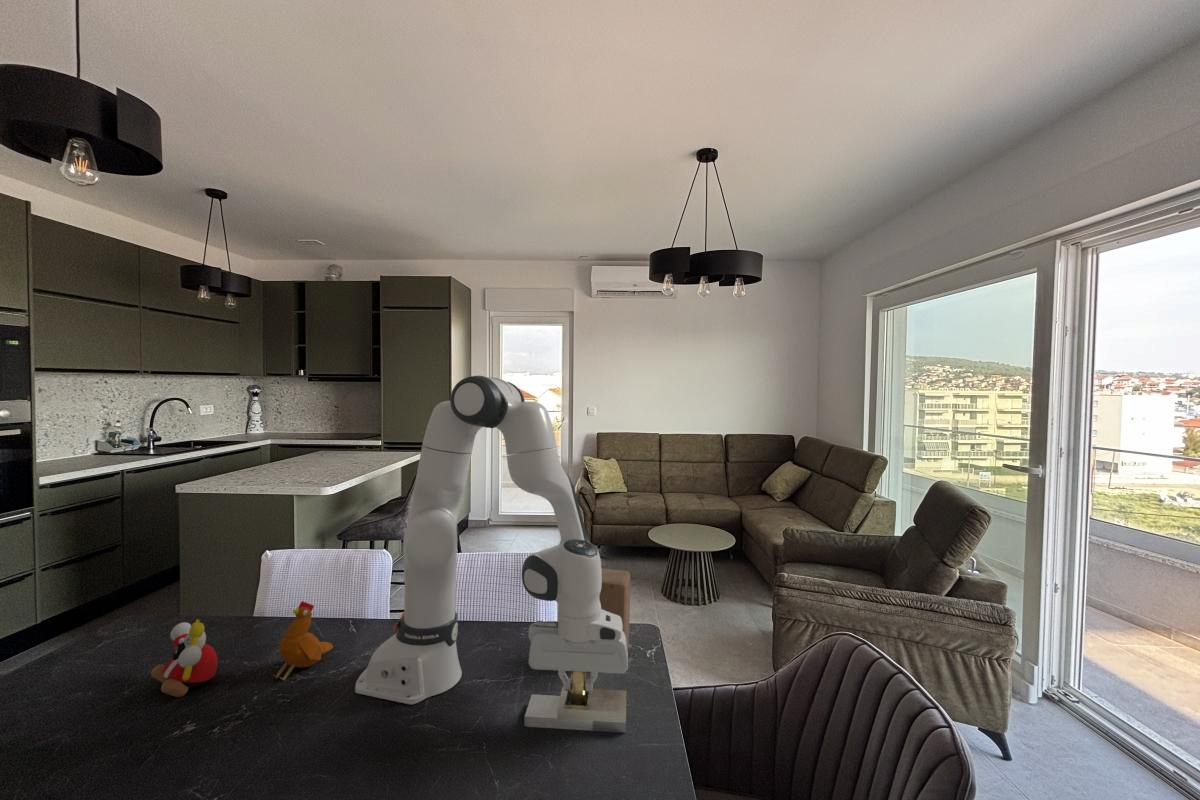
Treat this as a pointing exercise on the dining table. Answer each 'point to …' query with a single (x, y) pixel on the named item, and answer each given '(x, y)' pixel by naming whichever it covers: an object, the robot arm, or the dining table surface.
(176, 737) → the dining table surface
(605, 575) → the wooden block
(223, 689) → the dining table surface
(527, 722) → the stepped socket block
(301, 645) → the toy
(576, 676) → the pin
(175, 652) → the toy
